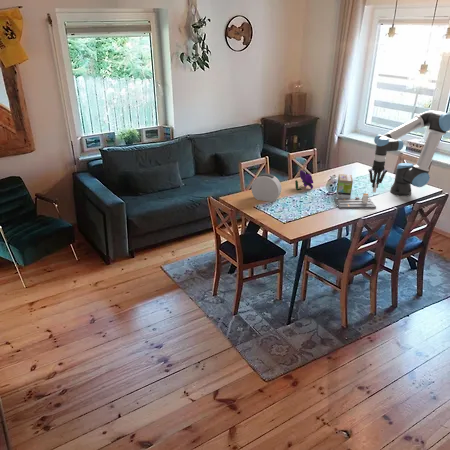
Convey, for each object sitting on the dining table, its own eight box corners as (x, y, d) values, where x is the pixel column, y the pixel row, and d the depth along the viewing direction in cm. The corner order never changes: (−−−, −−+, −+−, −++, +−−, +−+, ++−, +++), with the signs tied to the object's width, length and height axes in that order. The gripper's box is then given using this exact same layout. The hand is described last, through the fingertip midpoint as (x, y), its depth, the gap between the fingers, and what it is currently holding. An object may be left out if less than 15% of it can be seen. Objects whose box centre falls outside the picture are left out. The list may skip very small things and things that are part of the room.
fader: (366, 201, 309) (367, 192, 306) (367, 203, 306) (368, 194, 303) (361, 201, 309) (363, 192, 306) (363, 203, 306) (364, 194, 303)
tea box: (350, 199, 317) (353, 181, 310) (336, 198, 319) (339, 180, 312) (349, 192, 330) (351, 174, 324) (336, 191, 332) (338, 173, 325)
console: (369, 200, 315) (370, 196, 313) (375, 208, 301) (376, 204, 300) (334, 200, 315) (335, 196, 314) (339, 208, 301) (339, 204, 300)
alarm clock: (281, 199, 318) (282, 174, 309) (277, 203, 312) (279, 177, 303) (254, 195, 326) (255, 170, 317) (251, 198, 320) (251, 173, 311)
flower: (305, 199, 332) (317, 188, 335) (300, 185, 322) (312, 174, 326) (293, 193, 343) (304, 183, 346) (287, 179, 333) (299, 169, 337)
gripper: (387, 158, 297) (381, 190, 307) (368, 158, 297) (363, 189, 307) (390, 161, 290) (384, 193, 300) (371, 161, 290) (366, 193, 300)
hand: (374, 191), depth 303 cm, fingers closed
